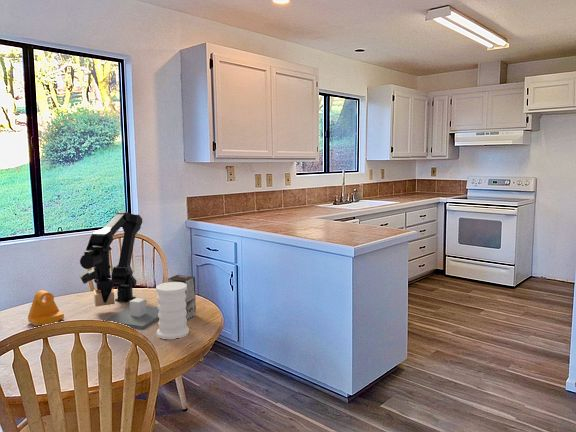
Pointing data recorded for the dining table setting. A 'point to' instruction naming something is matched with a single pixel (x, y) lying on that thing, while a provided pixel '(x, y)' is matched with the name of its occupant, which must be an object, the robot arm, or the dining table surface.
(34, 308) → the bracket
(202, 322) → the dining table surface
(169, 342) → the dining table surface
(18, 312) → the dining table surface
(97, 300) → the collar
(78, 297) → the dining table surface
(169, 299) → the decorative container
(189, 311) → the coffee box
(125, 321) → the duct base
